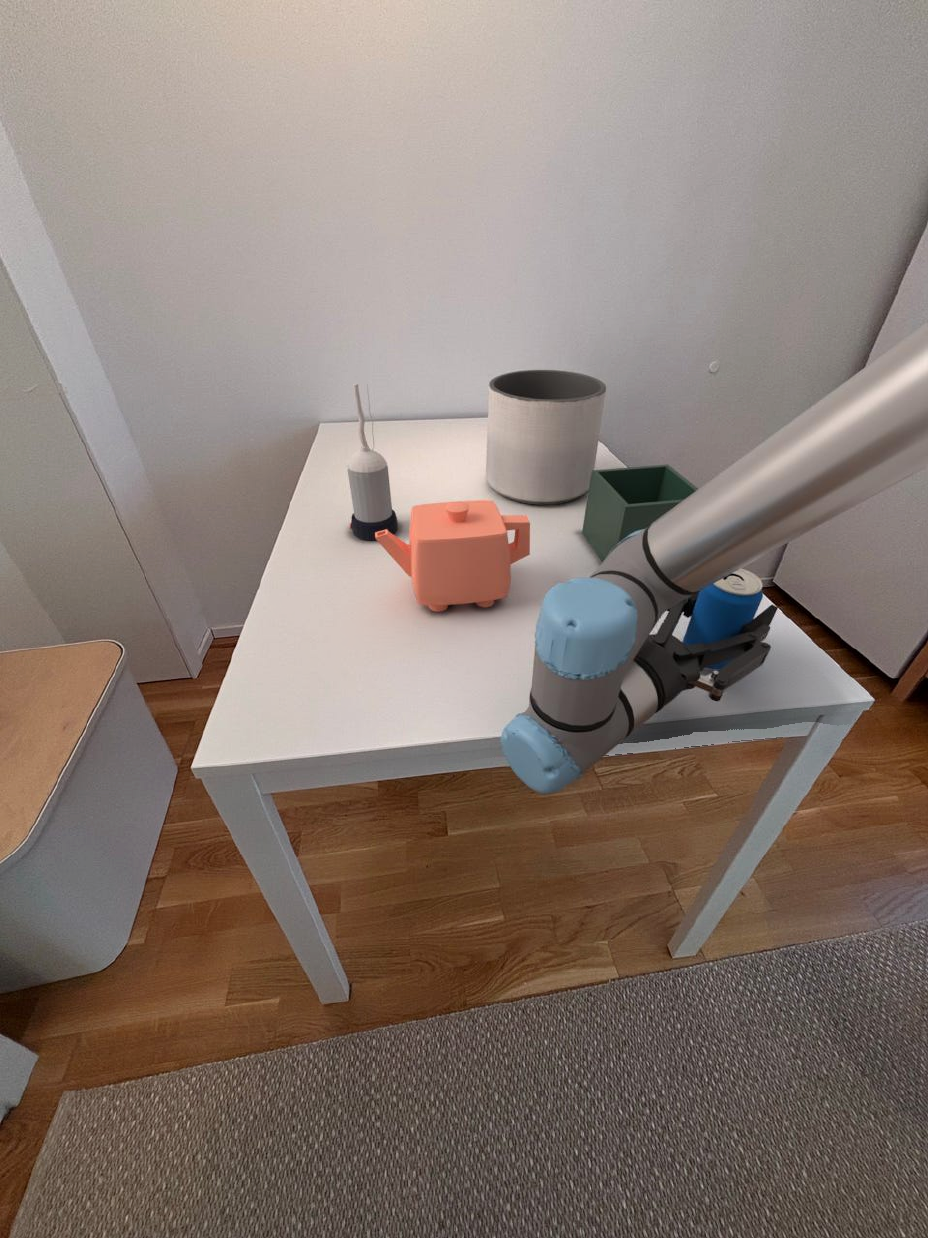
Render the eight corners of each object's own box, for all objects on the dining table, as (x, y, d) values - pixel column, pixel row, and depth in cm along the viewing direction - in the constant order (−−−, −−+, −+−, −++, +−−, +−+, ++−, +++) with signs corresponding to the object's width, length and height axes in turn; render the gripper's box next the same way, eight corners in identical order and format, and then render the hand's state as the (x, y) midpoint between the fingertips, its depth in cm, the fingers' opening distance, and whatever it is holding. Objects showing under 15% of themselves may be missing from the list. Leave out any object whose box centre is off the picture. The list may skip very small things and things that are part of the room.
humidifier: (346, 525, 95) (322, 381, 80) (387, 515, 98) (372, 374, 83) (361, 545, 90) (339, 394, 74) (405, 533, 93) (392, 386, 77)
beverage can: (724, 641, 69) (755, 565, 61) (740, 676, 64) (775, 597, 56) (674, 638, 69) (699, 563, 62) (686, 672, 64) (714, 594, 57)
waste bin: (690, 566, 84) (711, 499, 77) (611, 574, 82) (625, 506, 75) (652, 526, 95) (668, 464, 87) (581, 533, 93) (591, 470, 85)
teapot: (384, 622, 73) (372, 534, 64) (382, 573, 83) (371, 491, 74) (535, 608, 75) (544, 521, 67) (516, 562, 85) (521, 481, 76)
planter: (607, 478, 111) (625, 378, 99) (563, 519, 97) (577, 408, 84) (517, 457, 121) (523, 363, 108) (465, 491, 106) (465, 388, 94)
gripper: (556, 662, 62) (668, 591, 73) (704, 768, 50) (810, 663, 61) (563, 613, 57) (682, 545, 69) (728, 717, 45) (838, 614, 57)
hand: (742, 601), depth 65 cm, fingers closed on beverage can, 6 cm apart
